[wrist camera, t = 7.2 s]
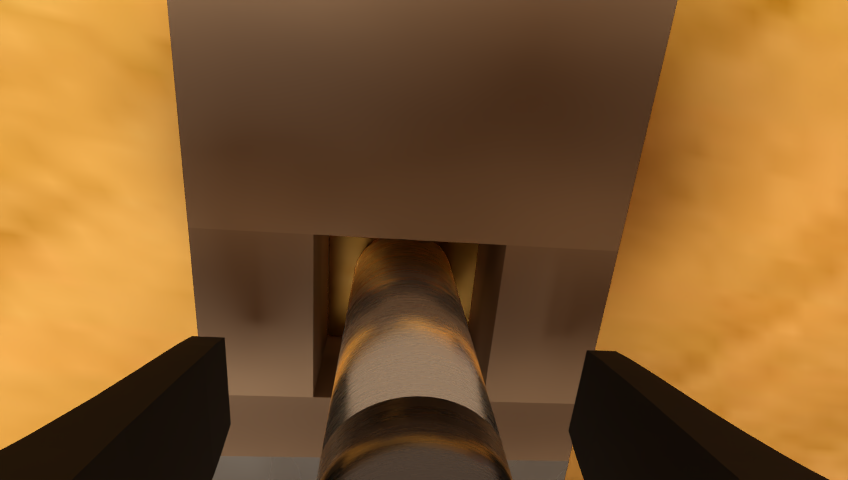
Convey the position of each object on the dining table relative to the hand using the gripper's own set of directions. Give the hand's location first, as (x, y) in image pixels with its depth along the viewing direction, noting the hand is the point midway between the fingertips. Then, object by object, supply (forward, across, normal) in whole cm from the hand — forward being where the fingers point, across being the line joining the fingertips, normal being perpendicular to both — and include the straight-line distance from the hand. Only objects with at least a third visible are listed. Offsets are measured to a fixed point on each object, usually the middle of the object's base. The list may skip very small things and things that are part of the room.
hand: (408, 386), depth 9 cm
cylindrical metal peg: (+5, 0, 0) cm, 5 cm away
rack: (+5, 0, -2) cm, 6 cm away
